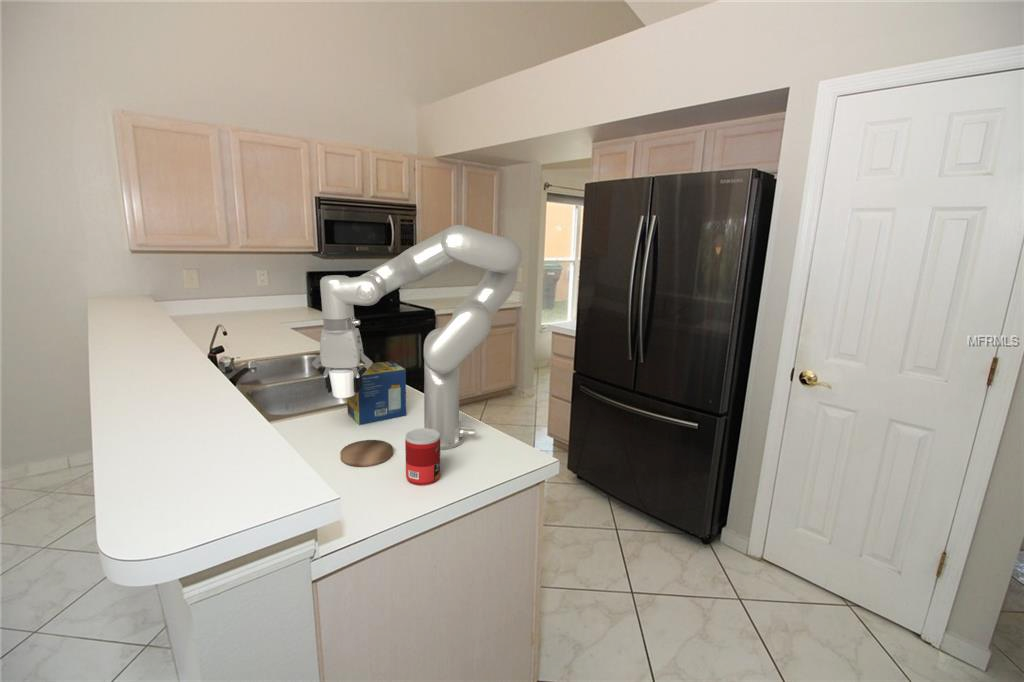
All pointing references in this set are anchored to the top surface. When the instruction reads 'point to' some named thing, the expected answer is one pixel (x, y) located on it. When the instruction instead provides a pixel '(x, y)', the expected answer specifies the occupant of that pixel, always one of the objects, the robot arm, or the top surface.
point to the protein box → (379, 394)
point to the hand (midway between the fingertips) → (344, 390)
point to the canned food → (422, 456)
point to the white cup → (342, 382)
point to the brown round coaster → (366, 453)
